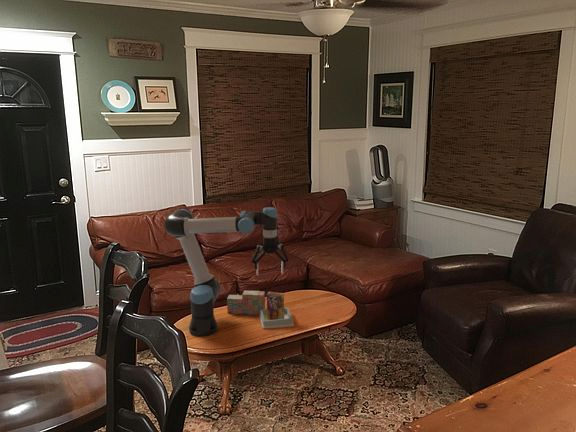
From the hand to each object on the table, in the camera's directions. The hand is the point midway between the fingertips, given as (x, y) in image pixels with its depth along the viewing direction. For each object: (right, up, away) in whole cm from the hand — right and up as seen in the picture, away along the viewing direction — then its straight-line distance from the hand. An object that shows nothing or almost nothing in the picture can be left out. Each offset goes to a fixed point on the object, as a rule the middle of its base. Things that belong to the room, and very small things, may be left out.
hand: (269, 274), depth 272 cm
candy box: (+3, -26, +7) cm, 27 cm away
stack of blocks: (-14, -25, +19) cm, 34 cm away
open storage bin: (+3, -27, +7) cm, 28 cm away
